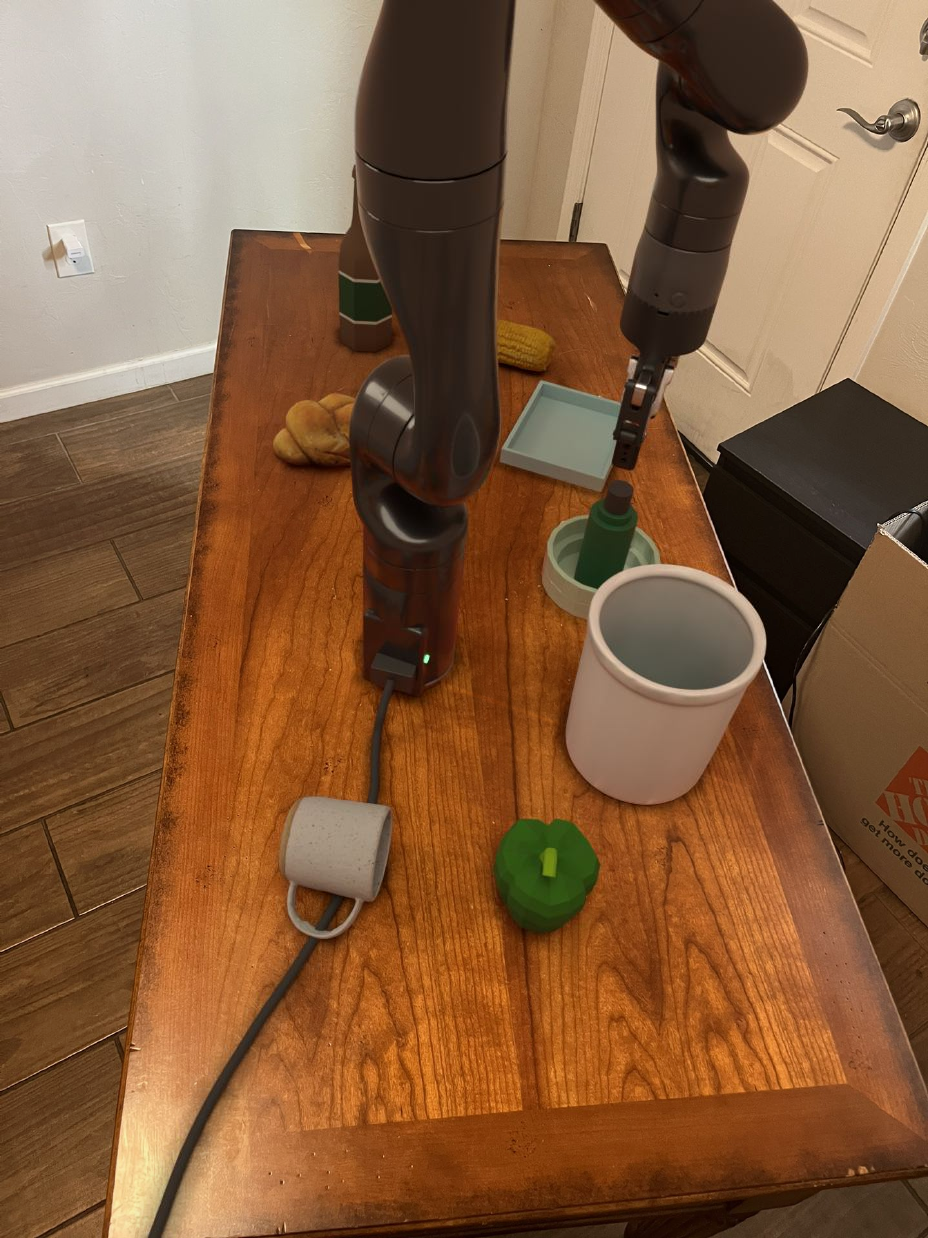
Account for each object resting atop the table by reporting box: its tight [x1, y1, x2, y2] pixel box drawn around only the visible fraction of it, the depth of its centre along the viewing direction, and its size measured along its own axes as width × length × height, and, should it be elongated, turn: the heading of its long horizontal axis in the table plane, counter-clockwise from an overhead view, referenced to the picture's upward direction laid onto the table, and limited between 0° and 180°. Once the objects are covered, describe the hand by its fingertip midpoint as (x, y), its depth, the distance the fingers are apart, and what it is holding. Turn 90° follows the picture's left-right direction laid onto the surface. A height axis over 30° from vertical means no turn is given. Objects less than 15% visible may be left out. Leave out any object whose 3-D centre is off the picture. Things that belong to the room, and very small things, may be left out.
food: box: [497, 318, 557, 372], centre depth 131 cm, size 21×6×6 cm, turn 68°
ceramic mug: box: [278, 795, 393, 940], centre depth 76 cm, size 11×8×8 cm
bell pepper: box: [492, 818, 601, 935], centre depth 76 cm, size 8×8×10 cm
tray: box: [499, 379, 633, 493], centre depth 120 cm, size 16×13×3 cm
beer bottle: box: [338, 164, 393, 353], centre depth 125 cm, size 8×8×24 cm
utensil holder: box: [565, 563, 767, 806], centre depth 84 cm, size 15×15×18 cm
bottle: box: [574, 479, 639, 589], centre depth 99 cm, size 5×5×14 cm
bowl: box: [541, 514, 662, 621], centre depth 103 cm, size 12×12×5 cm
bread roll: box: [272, 392, 356, 467], centre depth 113 cm, size 13×10×8 cm
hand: (633, 440), depth 90 cm, fingers open, 8 cm apart
